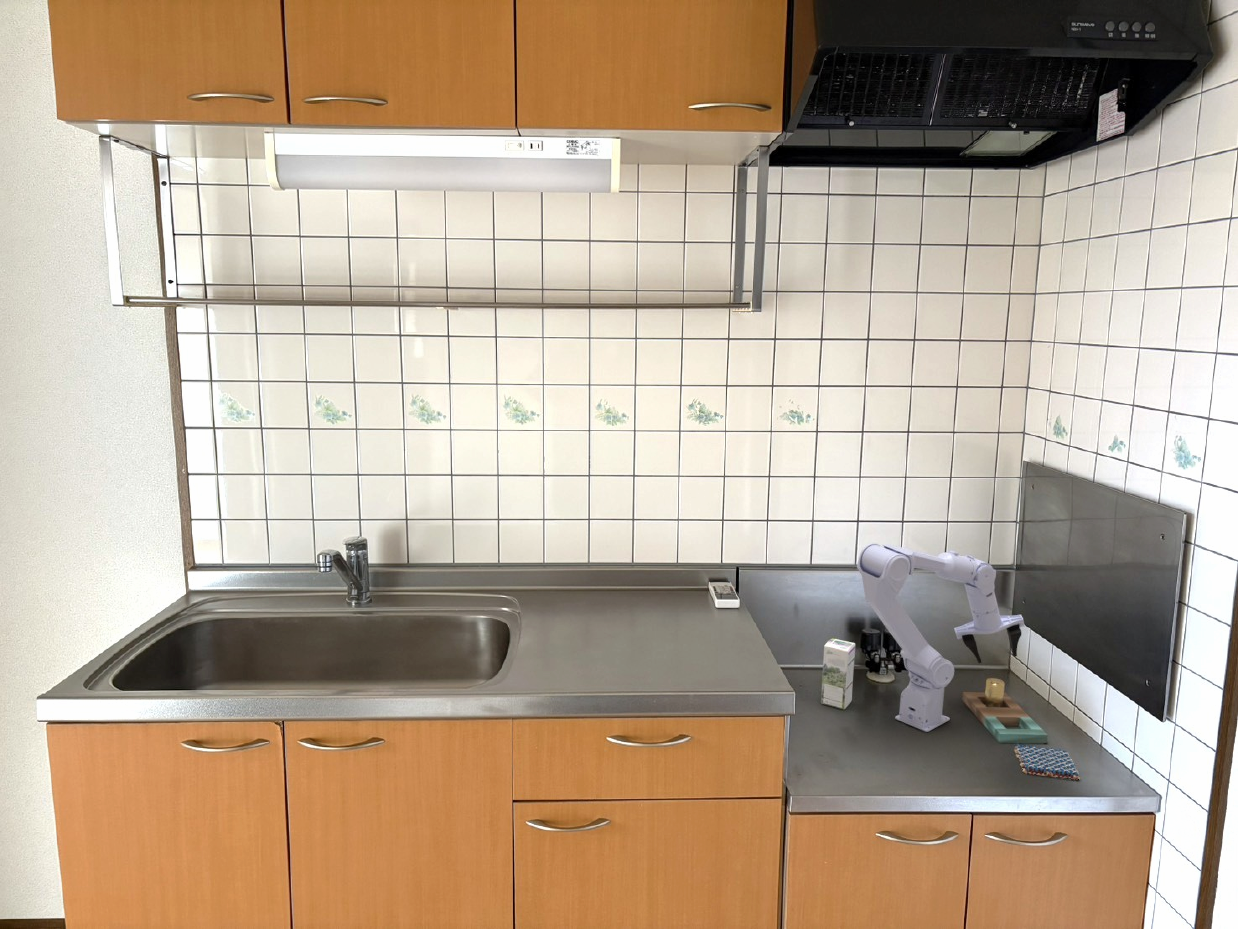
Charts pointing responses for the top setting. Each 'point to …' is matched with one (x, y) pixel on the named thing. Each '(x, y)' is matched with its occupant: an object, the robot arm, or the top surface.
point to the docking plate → (1005, 720)
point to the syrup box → (837, 673)
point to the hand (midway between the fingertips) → (996, 657)
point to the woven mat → (1046, 762)
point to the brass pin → (994, 693)
